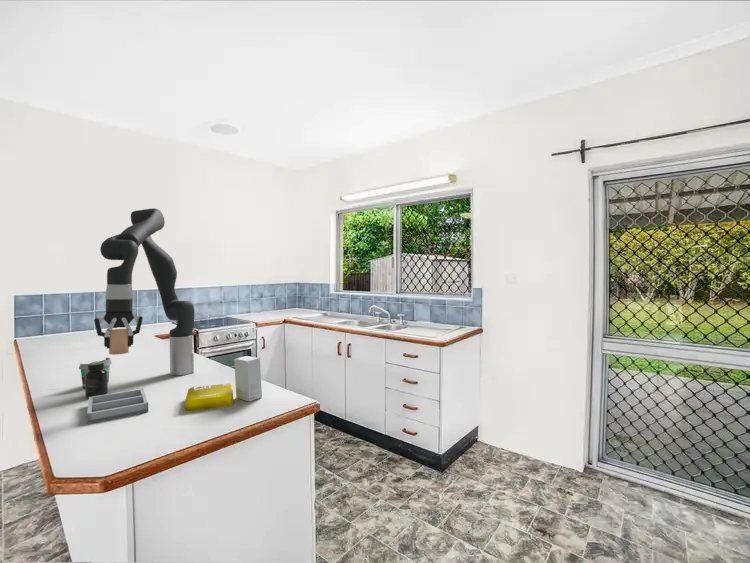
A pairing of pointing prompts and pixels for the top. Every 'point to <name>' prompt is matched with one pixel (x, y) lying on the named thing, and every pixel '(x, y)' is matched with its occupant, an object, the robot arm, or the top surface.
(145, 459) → the top surface
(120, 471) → the top surface
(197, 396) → the element tile
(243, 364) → the skincare box
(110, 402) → the rack
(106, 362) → the food container
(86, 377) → the supplement bottle
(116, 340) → the peach rounded capsule
